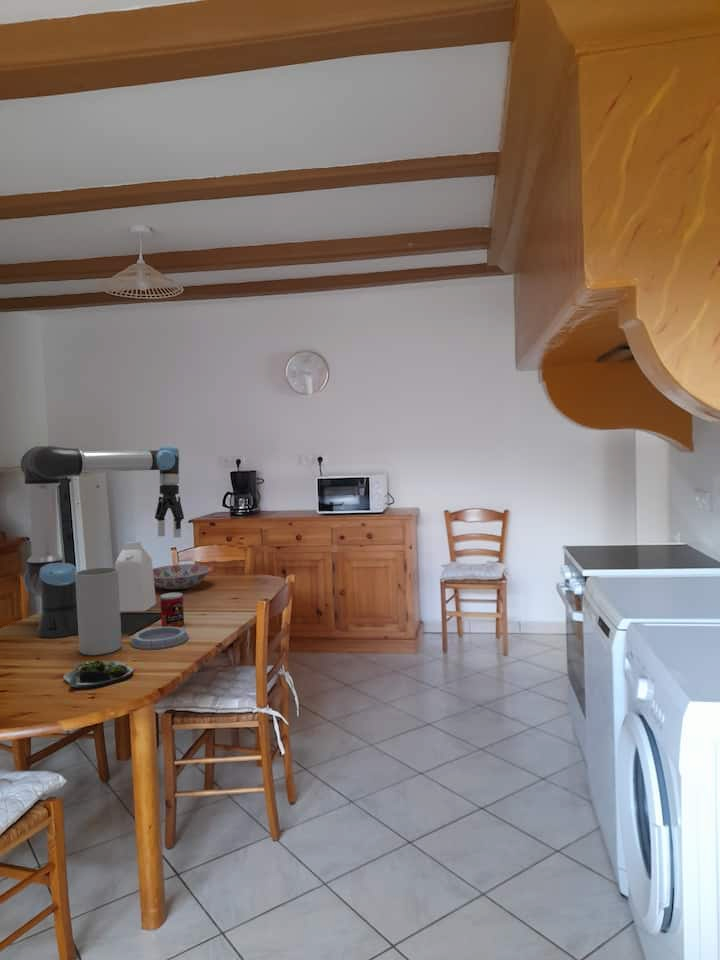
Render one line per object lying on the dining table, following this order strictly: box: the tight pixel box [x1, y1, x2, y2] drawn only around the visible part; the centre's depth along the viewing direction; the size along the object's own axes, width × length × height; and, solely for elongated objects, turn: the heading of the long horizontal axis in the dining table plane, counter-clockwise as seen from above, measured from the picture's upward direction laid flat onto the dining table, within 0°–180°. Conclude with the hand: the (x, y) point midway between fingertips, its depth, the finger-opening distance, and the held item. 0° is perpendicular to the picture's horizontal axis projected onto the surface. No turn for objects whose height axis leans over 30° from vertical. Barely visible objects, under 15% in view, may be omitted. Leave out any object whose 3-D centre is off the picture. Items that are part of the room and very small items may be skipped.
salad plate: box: [63, 659, 134, 690], centre depth 186 cm, size 19×18×5 cm
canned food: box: [160, 592, 185, 628], centre depth 236 cm, size 8×8×11 cm
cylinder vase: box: [75, 567, 123, 656], centre depth 210 cm, size 12×12×25 cm
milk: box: [114, 541, 157, 612], centre depth 263 cm, size 12×12×26 cm
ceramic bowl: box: [153, 563, 212, 590], centre depth 298 cm, size 29×29×8 cm
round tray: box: [130, 626, 189, 651], centre depth 218 cm, size 18×18×2 cm
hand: (169, 536), depth 272 cm, fingers open, 13 cm apart
